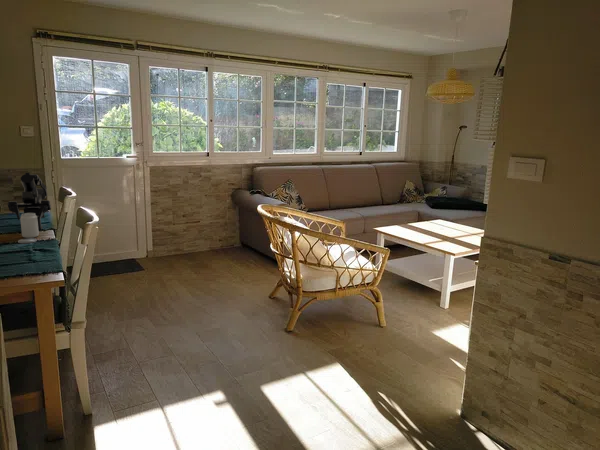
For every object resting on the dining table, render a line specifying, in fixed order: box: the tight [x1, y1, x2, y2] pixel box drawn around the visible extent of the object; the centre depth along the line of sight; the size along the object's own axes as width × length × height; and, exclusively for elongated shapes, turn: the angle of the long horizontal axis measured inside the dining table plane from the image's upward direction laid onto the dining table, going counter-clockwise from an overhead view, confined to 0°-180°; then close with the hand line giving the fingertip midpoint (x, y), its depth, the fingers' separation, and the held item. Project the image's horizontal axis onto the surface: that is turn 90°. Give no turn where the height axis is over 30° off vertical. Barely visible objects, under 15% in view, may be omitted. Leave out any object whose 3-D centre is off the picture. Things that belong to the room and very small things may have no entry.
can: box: [19, 212, 40, 239], centre depth 232 cm, size 8×8×12 cm
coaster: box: [17, 237, 38, 245], centre depth 224 cm, size 8×8×1 cm
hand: (29, 219), depth 231 cm, fingers open, 9 cm apart
